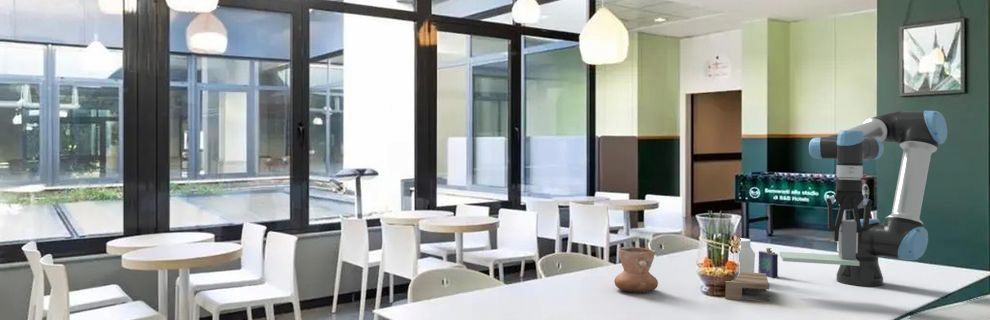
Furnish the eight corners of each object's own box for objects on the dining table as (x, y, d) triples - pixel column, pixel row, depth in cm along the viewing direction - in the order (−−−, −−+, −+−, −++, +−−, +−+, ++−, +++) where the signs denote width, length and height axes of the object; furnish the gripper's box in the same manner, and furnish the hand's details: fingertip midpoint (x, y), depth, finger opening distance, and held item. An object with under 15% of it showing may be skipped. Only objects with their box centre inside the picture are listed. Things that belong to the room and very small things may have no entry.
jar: (730, 283, 253) (731, 241, 253) (716, 278, 262) (717, 237, 262) (759, 282, 256) (760, 240, 255) (744, 277, 265) (745, 237, 265)
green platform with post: (779, 255, 238) (780, 216, 238) (851, 259, 231) (853, 219, 231) (782, 261, 225) (784, 219, 225) (859, 265, 219) (860, 223, 218)
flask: (756, 273, 272) (757, 246, 271) (762, 273, 273) (763, 245, 272) (773, 278, 263) (774, 249, 263) (780, 278, 264) (780, 249, 264)
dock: (725, 286, 247) (726, 270, 247) (765, 289, 243) (766, 273, 243) (725, 298, 228) (725, 281, 228) (768, 301, 224) (768, 284, 224)
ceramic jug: (664, 296, 230) (665, 253, 230) (620, 296, 230) (621, 252, 230) (649, 286, 248) (650, 245, 248) (608, 285, 248) (609, 245, 248)
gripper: (821, 178, 224) (819, 252, 224) (881, 180, 219) (879, 255, 219) (818, 177, 231) (816, 248, 232) (876, 179, 226) (874, 252, 226)
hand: (847, 251), depth 225 cm, fingers closed on green platform with post, 4 cm apart
